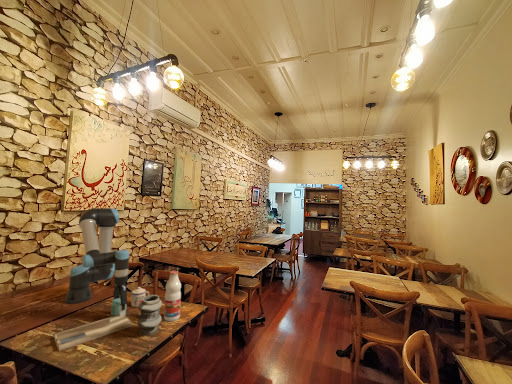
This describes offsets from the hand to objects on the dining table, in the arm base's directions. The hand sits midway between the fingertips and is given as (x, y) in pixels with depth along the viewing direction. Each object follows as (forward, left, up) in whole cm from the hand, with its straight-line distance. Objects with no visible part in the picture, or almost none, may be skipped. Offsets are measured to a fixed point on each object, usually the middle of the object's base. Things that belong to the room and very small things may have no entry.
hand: (119, 312), depth 144 cm
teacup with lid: (-9, +16, -2) cm, 18 cm away
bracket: (-1, 0, -2) cm, 2 cm away
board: (+10, -15, -2) cm, 18 cm away
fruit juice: (+24, +22, -2) cm, 33 cm away
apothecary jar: (+29, +6, -2) cm, 30 cm away
